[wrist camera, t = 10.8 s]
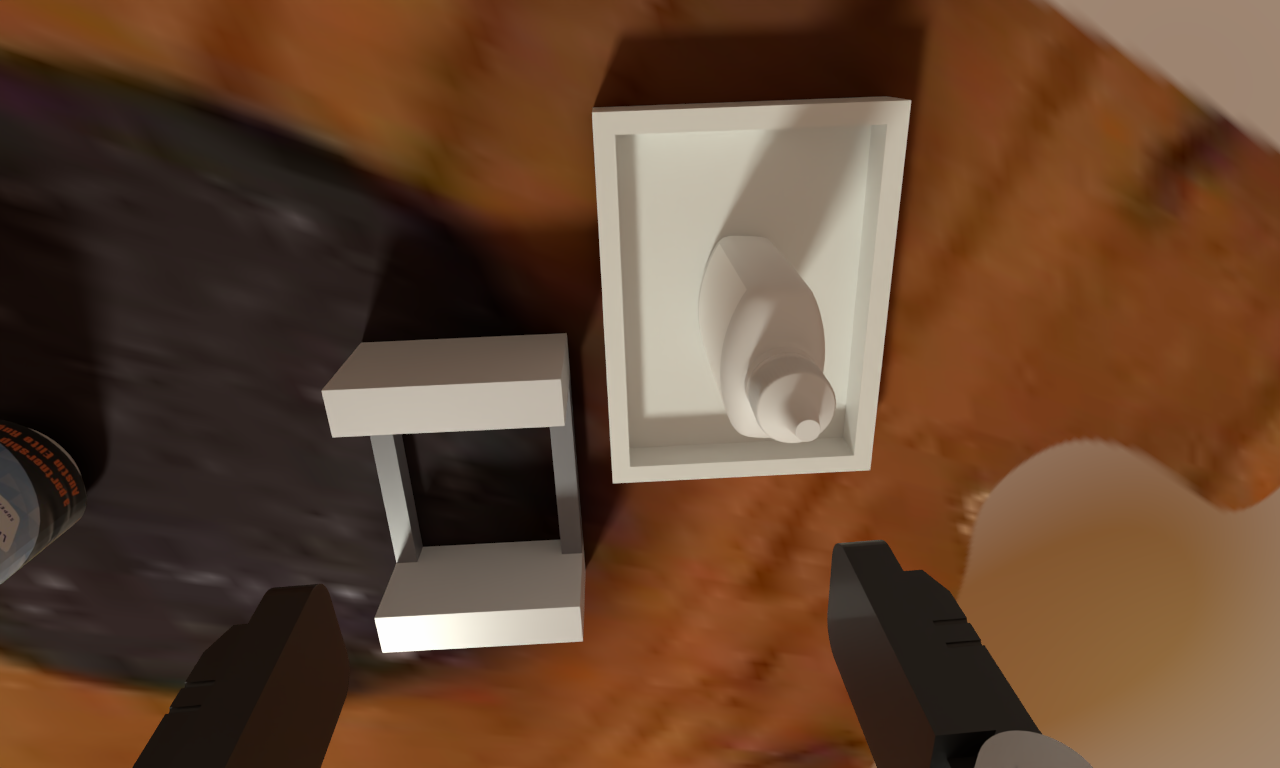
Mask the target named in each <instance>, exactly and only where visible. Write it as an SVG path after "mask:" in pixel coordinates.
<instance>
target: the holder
mask: <svg viewBox="0 0 1280 768" xmlns="http://www.w3.org/2000/svg"><path fill="white" fill-rule="evenodd" d="M322 395H323V399H324V403H325V408H326V412H327V416H328V421H329V425H330V429H331V434H332V437H350V436H370V438H371V443H372V447H373V452H374V457H375V462H376V467H377V471H378V476H379V481H380V486H381V491H382V495H383V500H384V505H385V510H386V514H387V519H388V524H389V529H390V534H391V538H392V543H393V548H394V553H395V558H396V562H397V564H396V566H395V569H394V571H393V573H392V576H391V578H390V581H389V583H388V586H387V588H386V591H385V593H384V596H383V598H382V601H381V603H380V606H379V608H378V611H377V613H376V616H375V622H376V627H377V631H378V635H379V640H380V644H381V648H382V652H383V653H386V652H404V651H421V650H439V649H456V648H474V647H491V646H509V645H526V644H544V643H561V642H579V641H583V625H584V598H585V558H584V545H583V532H582V520H581V507H580V494H579V481H578V469H577V456H576V443H575V430H574V418H573V405H572V392H571V379H570V367H569V354H568V341H567V333H560V334H539V335H517V336H495V337H473V338H452V339H430V340H408V341H386V342H365V343H361V344H360V345H359V346H358V347H357V348H356V350H355V351H354V352H353V353H352V354H351V356H350V357H349V358H348V359H347V360H346V362H345V363H344V364H343V365H342V367H341V368H340V369H339V370H338V371H337V373H336V374H335V375H334V376H333V377H332V379H331V380H330V381H329V382H328V383H327V385H326V386H325V387H324V388H323V389H322ZM533 427H550V434H551V444H552V455H553V466H554V476H555V487H556V498H557V508H558V519H559V530H560V540H543V541H524V542H505V543H486V544H468V545H449V546H430V547H423V545H422V539H421V534H420V529H419V523H418V518H417V513H416V507H415V502H414V497H413V492H412V486H411V481H410V476H409V470H408V465H407V460H406V454H405V449H404V444H403V438H402V434H411V433H431V432H452V431H472V430H492V429H512V428H533Z"/></svg>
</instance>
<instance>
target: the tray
mask: <svg viewBox="0 0 1280 768" xmlns="http://www.w3.org/2000/svg"><path fill="white" fill-rule="evenodd" d="M910 108H911V100H907V99H901V98H895V97H889V96H881V97H854V98H828V99H802V100H775V101H749V102H723V103H696V104H670V105H644V106H617V107H593V110H592V122H593V139H594V157H595V175H596V193H597V211H598V229H599V246H600V264H601V282H602V300H603V318H604V336H605V353H606V371H607V389H608V407H609V425H610V443H611V460H612V478H613V483H630V482H650V481H669V480H688V479H708V478H727V477H747V476H766V475H786V474H805V473H824V472H844V471H863V470H870V466H871V457H872V448H873V439H874V430H875V421H876V412H877V403H878V394H879V385H880V377H881V368H882V359H883V350H884V341H885V332H886V323H887V314H888V305H889V296H890V287H891V278H892V269H893V260H894V251H895V242H896V233H897V224H898V215H899V206H900V197H901V189H902V180H903V171H904V162H905V153H906V144H907V135H908V126H909V117H910ZM727 236H757V237H764V238H767V239H769V240H770V241H771V242H772V243H773V245H774V246H775V247H776V248H777V249H778V250H779V252H780V253H781V254H782V255H783V256H784V257H785V258H786V260H787V261H788V262H789V263H790V264H791V266H792V267H793V268H794V269H795V270H796V272H797V273H798V274H799V275H800V276H801V278H802V279H803V280H804V281H805V283H806V284H807V285H808V287H809V288H810V289H811V291H812V292H813V294H814V297H815V299H816V301H817V304H818V307H819V310H820V314H821V319H822V323H823V329H824V337H825V363H824V371H823V374H824V375H825V377H826V378H827V380H828V381H829V383H830V384H831V386H832V388H833V391H834V392H835V396H836V397H835V399H836V406H835V407H836V409H835V413H834V416H833V417H832V420H831V421H830V423H829V424H828V426H827V427H826V429H825V430H823V432H821V433H820V434H819V436H818V437H817V438H816V439H814V440H813V441H809V442H800V443H792V444H791V443H787V442H786V443H783V442H779V441H776V440H775V439H772V438H756V437H748V436H745V435H742V434H740V433H739V432H738V431H737V430H736V429H735V428H734V427H733V425H732V424H731V422H730V419H729V417H728V415H727V412H726V410H725V407H724V404H723V401H722V398H721V396H720V393H719V390H718V387H717V384H716V381H715V378H714V375H713V372H712V369H711V366H710V363H709V360H708V357H707V354H706V351H705V348H704V345H703V342H702V338H701V333H700V328H699V319H698V298H699V290H700V285H701V280H702V277H703V273H704V270H705V267H706V265H707V262H708V260H709V257H710V255H711V253H712V251H713V249H714V248H715V246H716V244H717V243H718V242H719V241H720V240H721V239H722V238H724V237H727Z"/></svg>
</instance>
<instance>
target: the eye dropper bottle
mask: <svg viewBox="0 0 1280 768" xmlns="http://www.w3.org/2000/svg"><path fill="white" fill-rule="evenodd" d="M698 319H699V328H700V333H701V338H702V342H703V345H704V348H705V351H706V354H707V357H708V360H709V363H710V366H711V369H712V372H713V375H714V378H715V381H716V384H717V387H718V390H719V393H720V396H721V398H722V401H723V404H724V407H725V410H726V412H727V415H728V417H729V419H730V422H731V424H732V425H733V427H734V428H735V429H736V430H737V431H738V432H739V433H740V434H742V435H745V436H748V437H756V438H772V439H775V440H776V441H779V442H783V443H786V442H787V443H791V444H792V443H800V442H809V441H813V440H814V439H816V438H817V437H818V436H819V434H820V433H821V432H823V430H825V429H826V427H827V426H828V424H829V423H830V421H831V420H832V417H833V416H834V413H835V409H836V407H835V406H836V399H835V397H836V396H835V392H834V391H833V388H832V386H831V384H830V383H829V381H828V380H827V378H826V377H825V375H824V374H823V371H824V363H825V337H824V329H823V323H822V319H821V314H820V310H819V307H818V304H817V301H816V299H815V297H814V294H813V292H812V291H811V289H810V288H809V287H808V285H807V284H806V283H805V281H804V280H803V279H802V278H801V276H800V275H799V274H798V273H797V272H796V270H795V269H794V268H793V267H792V266H791V264H790V263H789V262H788V261H787V260H786V258H785V257H784V256H783V255H782V254H781V253H780V252H779V250H778V249H777V248H776V247H775V246H774V245H773V243H772V242H771V241H770V240H769V239H767V238H764V237H757V236H727V237H724V238H722V239H721V240H720V241H719V242H718V243H717V244H716V246H715V248H714V249H713V251H712V253H711V255H710V257H709V260H708V262H707V265H706V267H705V270H704V273H703V277H702V280H701V285H700V290H699V298H698Z"/></svg>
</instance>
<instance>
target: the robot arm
mask: <svg viewBox="0 0 1280 768" xmlns="http://www.w3.org/2000/svg"><path fill="white" fill-rule="evenodd" d="M828 633H829V640H830V645H831V649H832V653H833V656H834V659H835V661H836V664H837V666H838V669H839V672H840V674H841V677H842V679H843V682H844V684H845V687H846V689H847V692H848V694H849V697H850V700H851V702H852V705H853V707H854V710H855V712H856V715H857V717H858V720H859V723H860V725H861V728H862V730H863V733H864V735H865V738H866V740H867V743H868V746H869V748H870V751H871V753H872V756H873V758H874V761H875V763H876V766H877V768H1093V767H1092V766H1091V765H1090V764H1089V763H1088V762H1087V761H1086V760H1085V759H1084V758H1083V757H1082V756H1081V755H1079V754H1078V753H1077V752H1075V751H1074V750H1073V749H1071V748H1070V747H1068V746H1066V745H1064V744H1063V743H1061V742H1059V741H1057V740H1055V739H1053V738H1050V737H1048V736H1044V735H1042V733H1041V732H1040V731H1039V729H1038V728H1037V726H1036V725H1035V723H1034V722H1033V720H1032V719H1031V717H1030V715H1029V714H1028V713H1027V711H1026V709H1025V708H1024V706H1023V705H1022V703H1021V701H1020V700H1019V698H1018V697H1017V695H1016V694H1015V692H1014V691H1013V689H1012V688H1011V686H1010V684H1009V683H1008V681H1007V680H1006V678H1005V677H1004V675H1003V674H1002V672H1001V670H1000V669H999V667H998V666H997V665H996V663H995V661H994V660H993V658H992V656H991V655H990V653H989V652H988V650H987V649H986V647H985V646H984V645H983V646H982V644H981V639H980V638H979V636H978V635H977V633H976V632H975V630H974V628H973V627H972V625H971V624H970V623H967V618H966V616H965V614H964V613H963V612H962V610H961V608H960V607H959V605H958V604H957V602H956V600H955V599H954V597H953V596H952V594H951V593H950V591H948V590H947V589H946V588H945V587H943V586H942V585H941V584H939V583H938V582H937V581H936V580H934V579H933V578H932V577H931V576H929V575H928V574H927V573H925V572H924V571H923V570H914V571H903V569H902V568H901V566H900V564H899V563H898V561H897V559H896V557H895V556H894V554H893V552H892V551H891V549H890V547H889V546H888V544H887V543H886V542H885V541H884V540H874V541H861V542H849V543H837V544H836V545H835V546H834V549H833V554H832V566H831V578H830V591H829V604H828ZM348 685H349V659H348V655H347V651H346V648H345V644H344V641H343V638H342V634H341V631H340V628H339V624H338V621H337V618H336V614H335V611H334V608H333V604H332V601H331V598H330V595H329V592H328V590H327V588H326V587H325V586H324V585H323V584H313V585H301V586H288V587H276V588H271V589H270V590H268V591H267V592H266V594H265V595H264V597H263V598H262V600H261V602H260V604H259V605H258V607H257V609H256V611H255V612H254V614H253V616H252V618H251V619H250V621H249V623H248V624H242V625H233V626H232V627H231V628H230V629H229V630H228V631H227V632H226V633H224V634H223V635H222V636H221V637H220V638H219V639H218V640H217V641H216V642H214V643H213V644H212V645H211V646H210V647H209V648H208V649H207V650H206V651H205V652H204V653H203V654H202V656H201V657H200V659H199V661H198V662H197V664H196V665H195V667H194V669H193V670H192V672H191V674H190V675H189V677H188V678H187V680H186V682H185V688H182V689H181V690H180V691H179V693H178V695H177V696H176V698H175V699H174V701H173V703H172V704H171V706H170V712H169V714H165V716H164V717H163V719H162V721H161V722H160V724H159V725H158V727H157V729H156V730H155V732H154V734H153V735H152V737H151V738H150V740H149V742H148V743H147V745H146V746H145V748H144V750H143V751H142V753H141V755H140V756H139V758H138V759H137V761H136V763H135V764H134V766H133V768H321V765H322V762H323V759H324V757H325V754H326V751H327V748H328V746H329V743H330V740H331V737H332V735H333V732H334V729H335V726H336V724H337V721H338V718H339V715H340V712H341V710H342V707H343V704H344V701H345V698H346V695H347V691H348Z"/></svg>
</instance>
